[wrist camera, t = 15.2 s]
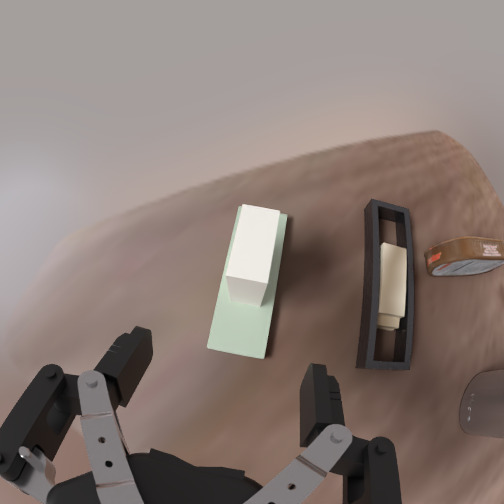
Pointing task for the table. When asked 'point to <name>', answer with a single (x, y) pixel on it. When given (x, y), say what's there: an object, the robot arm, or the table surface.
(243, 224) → the white rectangular block
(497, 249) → the tin
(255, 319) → the board
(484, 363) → the table surface
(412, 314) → the frame
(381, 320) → the offcut stack
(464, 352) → the table surface
